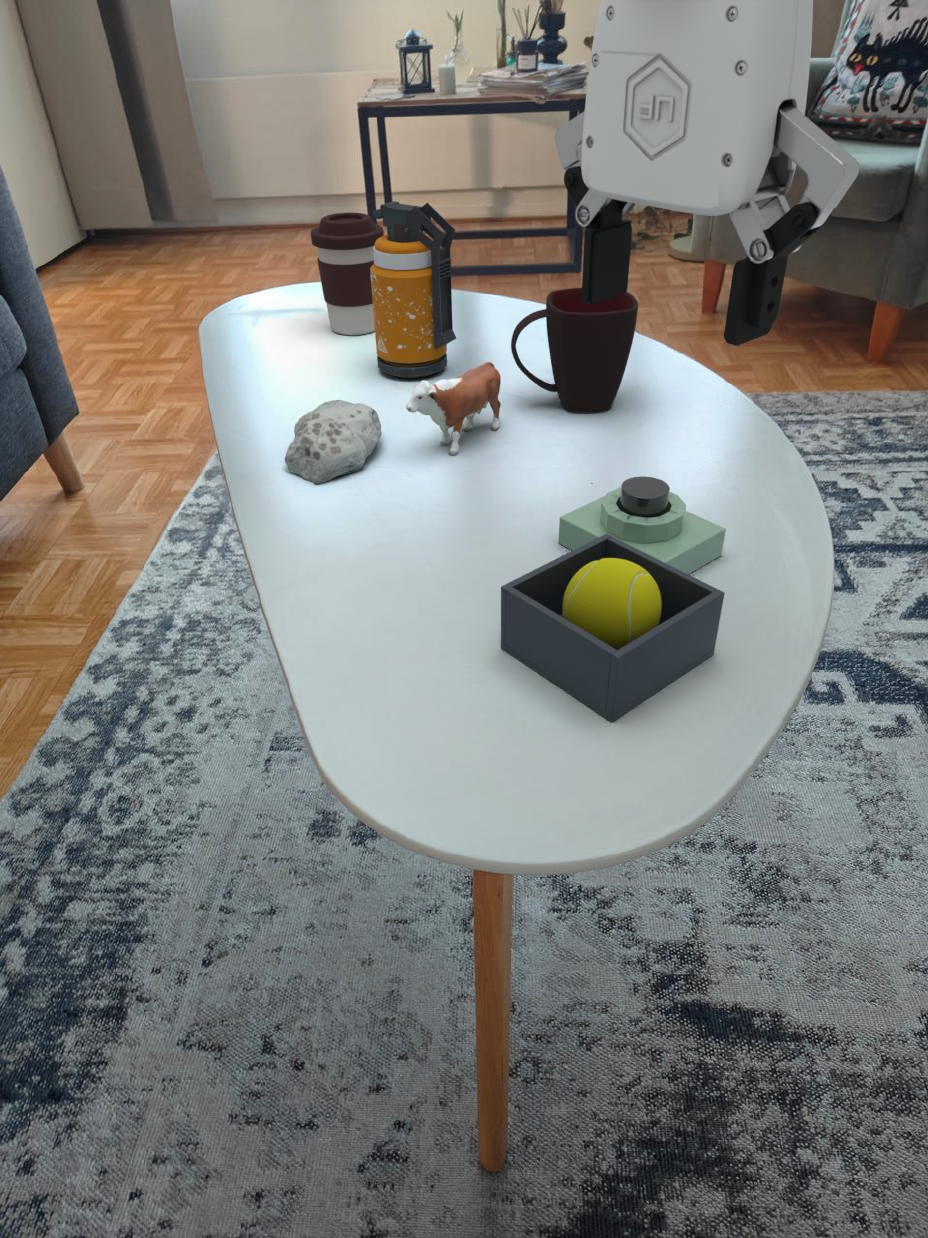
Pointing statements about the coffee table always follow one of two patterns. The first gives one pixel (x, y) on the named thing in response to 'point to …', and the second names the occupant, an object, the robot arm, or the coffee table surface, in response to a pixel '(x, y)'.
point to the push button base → (647, 531)
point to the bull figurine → (458, 401)
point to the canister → (412, 291)
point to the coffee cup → (347, 269)
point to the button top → (644, 497)
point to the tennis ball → (613, 601)
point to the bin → (589, 662)
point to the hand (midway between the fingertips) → (671, 317)
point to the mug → (584, 347)
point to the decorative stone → (333, 440)
